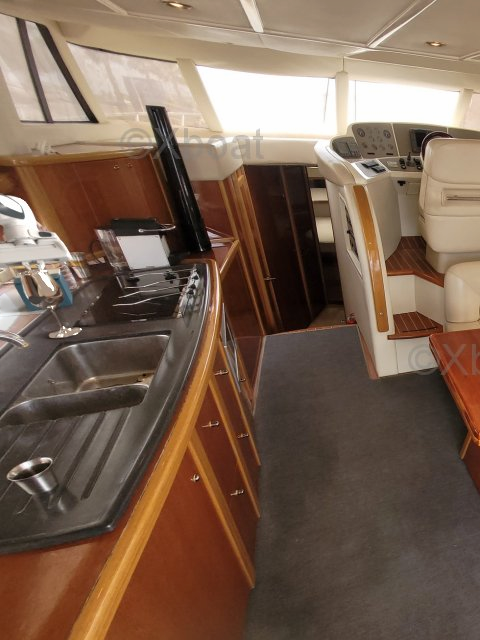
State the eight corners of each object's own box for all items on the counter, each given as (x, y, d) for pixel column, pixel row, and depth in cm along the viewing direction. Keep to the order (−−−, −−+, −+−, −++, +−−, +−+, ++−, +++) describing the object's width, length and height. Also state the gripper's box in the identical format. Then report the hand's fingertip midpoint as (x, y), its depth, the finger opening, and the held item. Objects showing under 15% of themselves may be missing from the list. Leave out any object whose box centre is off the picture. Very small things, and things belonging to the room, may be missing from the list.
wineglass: (49, 341, 119) (14, 278, 109) (47, 332, 123) (12, 271, 113) (84, 333, 124) (53, 273, 114) (80, 325, 128) (50, 266, 118)
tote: (31, 300, 143) (16, 272, 138) (72, 294, 150) (59, 268, 144) (29, 311, 135) (13, 283, 130) (72, 305, 141) (58, 277, 136)
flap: (17, 274, 138) (16, 272, 138) (59, 269, 145) (59, 268, 144) (16, 279, 134) (15, 278, 134) (60, 274, 141) (59, 273, 140)
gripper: (-24, 238, 130) (-12, 273, 129) (61, 232, 142) (73, 265, 141) (-15, 248, 135) (-3, 283, 134) (66, 242, 147) (78, 273, 146)
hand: (37, 273), depth 137 cm, fingers closed, pressing on flap
